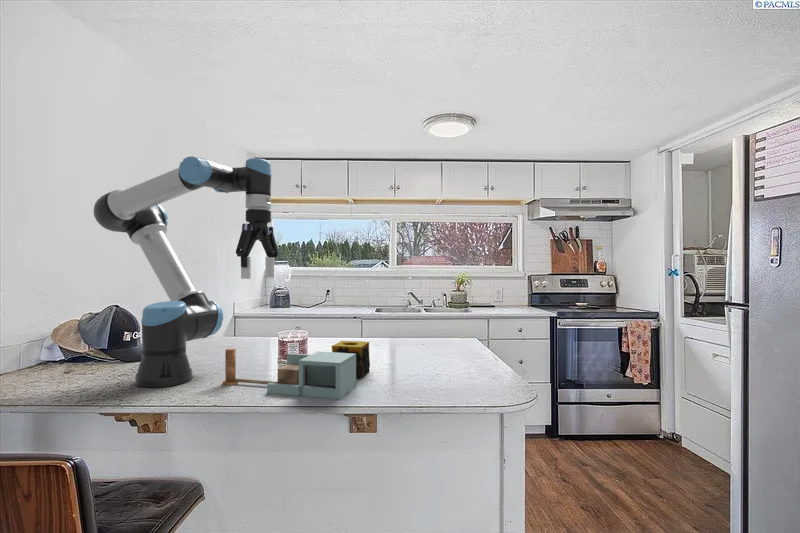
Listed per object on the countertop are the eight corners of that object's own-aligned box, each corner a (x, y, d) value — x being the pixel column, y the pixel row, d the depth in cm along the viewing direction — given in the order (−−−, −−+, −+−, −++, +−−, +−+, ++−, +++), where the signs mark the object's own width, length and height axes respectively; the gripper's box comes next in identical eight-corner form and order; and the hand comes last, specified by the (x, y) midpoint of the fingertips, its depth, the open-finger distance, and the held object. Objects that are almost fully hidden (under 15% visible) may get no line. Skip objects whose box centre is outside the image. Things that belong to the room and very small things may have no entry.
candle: (361, 379, 137) (361, 347, 137) (330, 377, 139) (330, 345, 139) (370, 371, 147) (370, 341, 147) (341, 370, 149) (341, 340, 149)
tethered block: (217, 385, 130) (217, 350, 130) (230, 380, 136) (230, 347, 136) (297, 391, 124) (297, 355, 124) (306, 386, 130) (306, 351, 130)
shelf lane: (267, 393, 123) (267, 358, 123) (288, 381, 135) (289, 349, 135) (339, 399, 117) (340, 363, 117) (355, 386, 130) (356, 353, 129)
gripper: (246, 204, 127) (245, 279, 127) (288, 213, 151) (288, 276, 151) (222, 205, 129) (222, 279, 129) (268, 214, 153) (268, 276, 153)
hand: (258, 278), depth 140 cm, fingers open, 13 cm apart
